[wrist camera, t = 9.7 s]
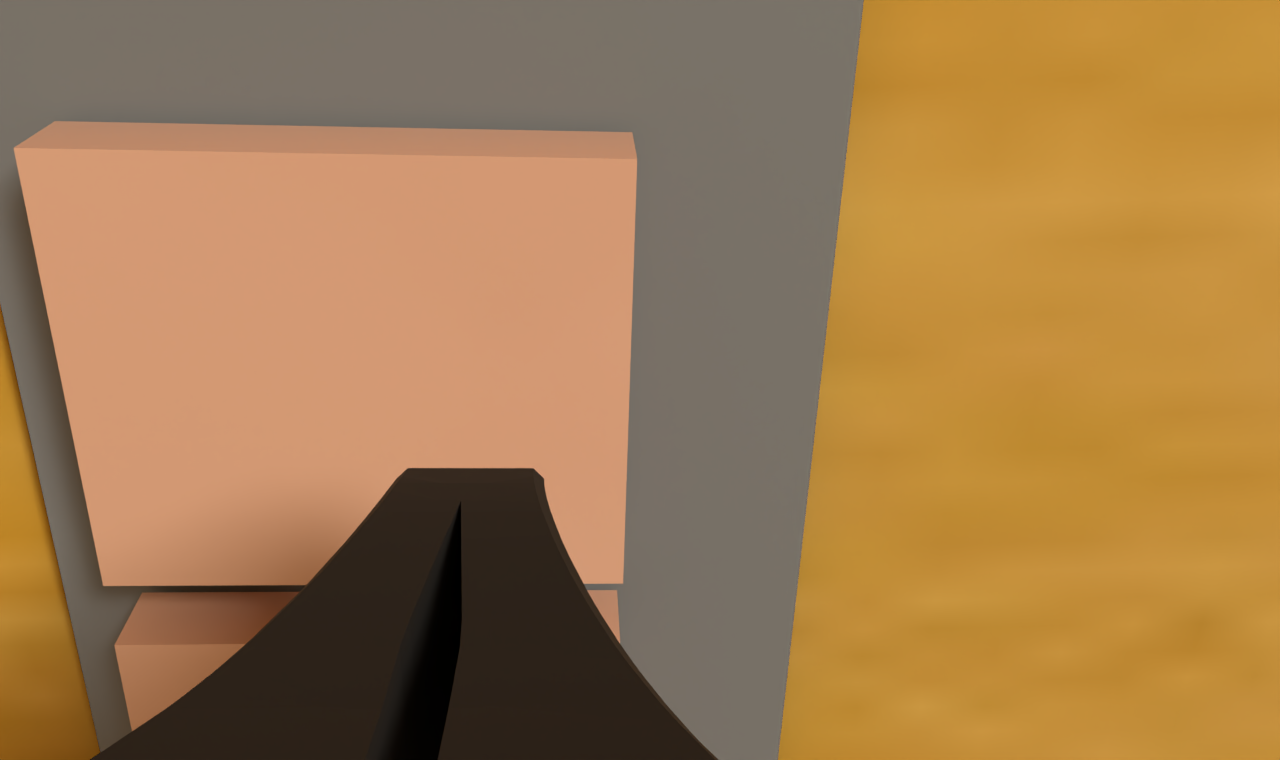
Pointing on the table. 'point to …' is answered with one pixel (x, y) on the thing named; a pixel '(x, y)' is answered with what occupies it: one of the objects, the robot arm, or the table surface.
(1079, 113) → the table surface
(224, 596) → the tile
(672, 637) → the mat
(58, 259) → the tile
